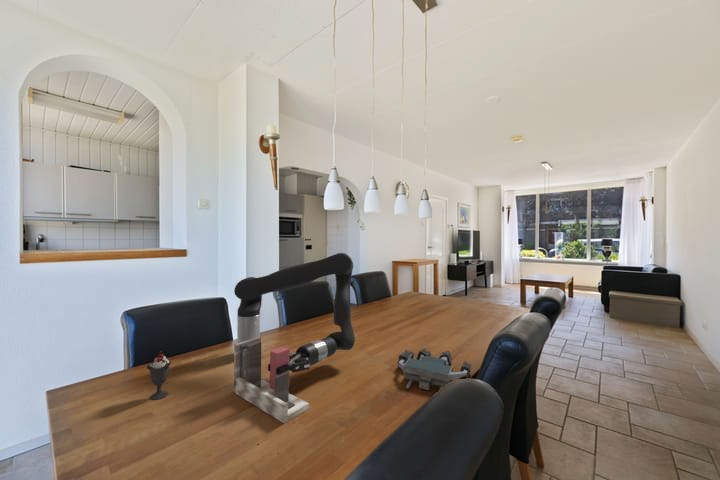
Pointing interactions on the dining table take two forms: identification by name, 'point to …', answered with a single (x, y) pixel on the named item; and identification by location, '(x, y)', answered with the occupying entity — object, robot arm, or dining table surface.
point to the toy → (430, 369)
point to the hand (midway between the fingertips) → (272, 369)
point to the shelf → (263, 384)
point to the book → (278, 362)
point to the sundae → (159, 375)
